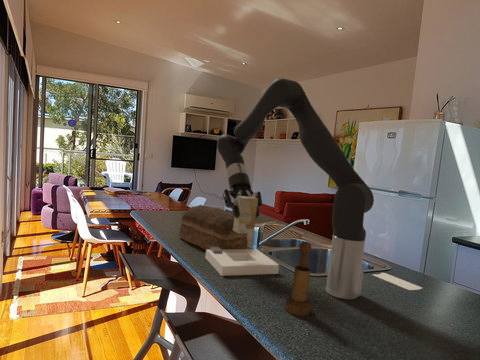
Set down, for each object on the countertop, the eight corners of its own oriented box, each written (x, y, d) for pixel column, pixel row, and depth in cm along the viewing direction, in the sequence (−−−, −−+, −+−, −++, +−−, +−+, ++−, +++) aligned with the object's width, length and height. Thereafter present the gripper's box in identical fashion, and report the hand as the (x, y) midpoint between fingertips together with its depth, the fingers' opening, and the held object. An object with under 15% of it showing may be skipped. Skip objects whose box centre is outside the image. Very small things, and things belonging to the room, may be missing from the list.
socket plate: (255, 256, 137) (257, 246, 137) (278, 273, 121) (279, 262, 120) (205, 257, 130) (206, 246, 129) (221, 275, 113) (222, 263, 113)
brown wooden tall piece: (310, 318, 90) (318, 247, 88) (284, 313, 91) (292, 243, 90) (310, 307, 96) (318, 241, 95) (286, 302, 97) (293, 237, 96)
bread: (203, 234, 164) (206, 200, 163) (251, 254, 140) (255, 214, 139) (175, 237, 154) (178, 200, 153) (221, 259, 130) (225, 216, 129)
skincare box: (238, 233, 121) (242, 197, 119) (232, 230, 124) (236, 195, 123) (254, 233, 124) (258, 198, 123) (248, 230, 127) (252, 196, 126)
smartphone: (425, 290, 121) (383, 273, 134) (425, 288, 121) (383, 272, 134) (412, 293, 117) (370, 275, 130) (412, 291, 117) (370, 274, 130)
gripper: (222, 170, 126) (230, 210, 117) (259, 173, 132) (270, 211, 122) (216, 183, 132) (223, 222, 122) (252, 185, 137) (262, 223, 127)
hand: (247, 217), depth 122 cm, fingers closed on skincare box, 6 cm apart
